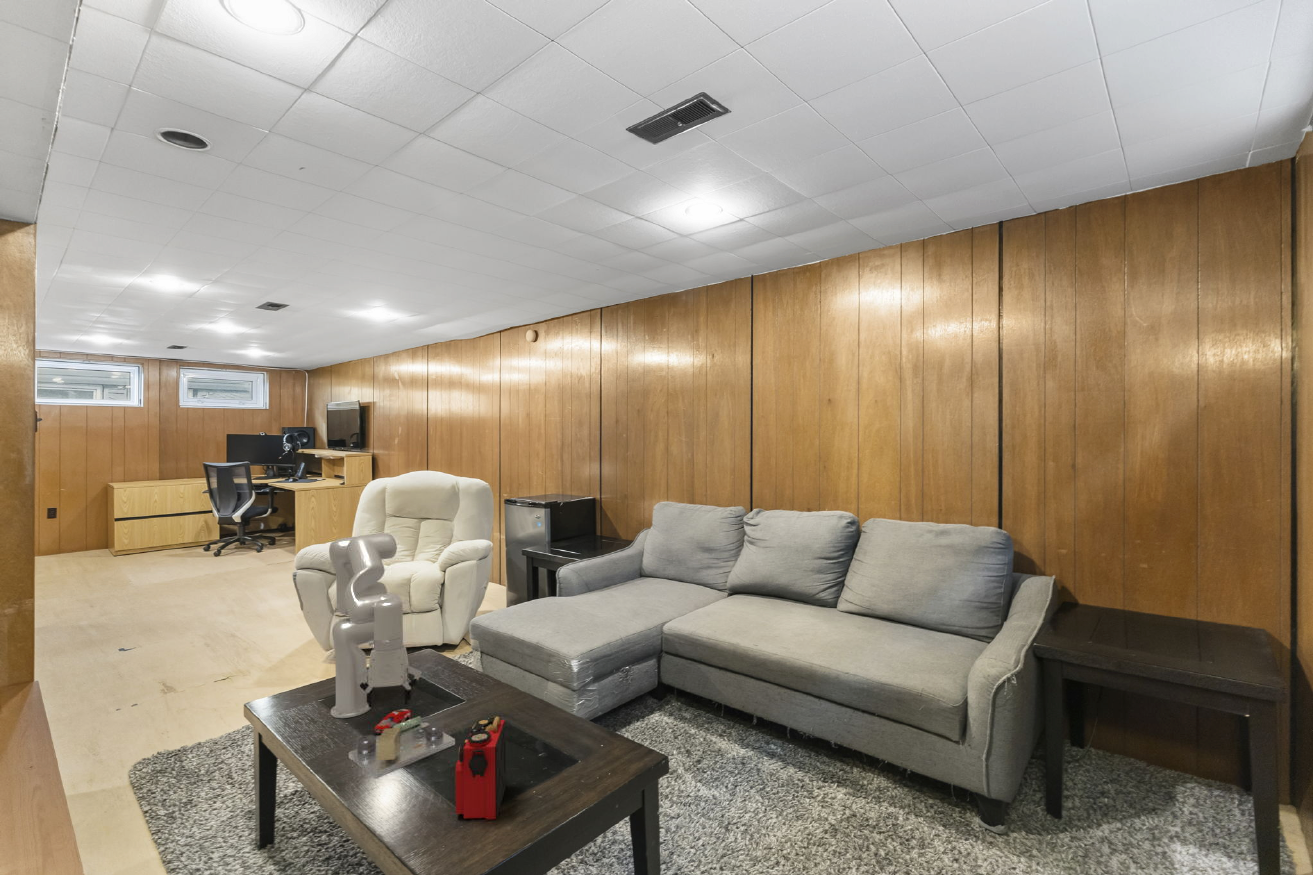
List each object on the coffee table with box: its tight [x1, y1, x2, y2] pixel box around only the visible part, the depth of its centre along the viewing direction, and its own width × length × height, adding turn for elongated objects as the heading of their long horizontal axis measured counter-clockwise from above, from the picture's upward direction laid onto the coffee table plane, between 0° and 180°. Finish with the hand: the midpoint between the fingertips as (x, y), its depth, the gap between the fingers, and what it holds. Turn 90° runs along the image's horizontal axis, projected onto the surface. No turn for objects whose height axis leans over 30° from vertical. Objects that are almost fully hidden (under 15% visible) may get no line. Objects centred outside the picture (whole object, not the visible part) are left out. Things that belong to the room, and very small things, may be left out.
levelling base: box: [348, 715, 456, 779], centre depth 180 cm, size 17×24×6 cm
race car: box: [374, 708, 412, 735], centre depth 196 cm, size 13×5×4 cm, turn 160°
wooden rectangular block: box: [377, 728, 401, 761], centre depth 174 cm, size 10×4×7 cm, turn 10°
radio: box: [454, 716, 507, 820], centre depth 153 cm, size 16×10×20 cm, turn 5°
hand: (389, 703), depth 172 cm, fingers open, 9 cm apart
